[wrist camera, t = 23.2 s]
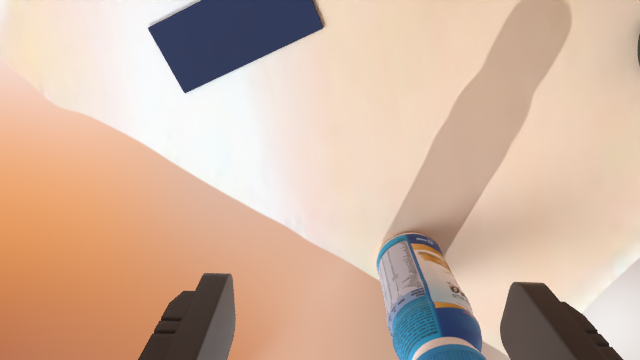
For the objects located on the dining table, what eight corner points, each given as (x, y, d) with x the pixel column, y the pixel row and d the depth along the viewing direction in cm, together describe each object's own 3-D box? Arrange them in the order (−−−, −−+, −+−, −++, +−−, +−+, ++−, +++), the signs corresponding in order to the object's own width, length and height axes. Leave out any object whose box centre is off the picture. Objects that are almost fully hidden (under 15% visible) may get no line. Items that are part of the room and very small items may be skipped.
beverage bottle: (371, 234, 47) (401, 371, 28) (440, 225, 46) (517, 359, 28) (378, 289, 50) (409, 445, 32) (443, 281, 50) (513, 436, 31)
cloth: (293, -46, 36) (293, -47, 35) (323, 27, 38) (323, 28, 38) (148, 28, 38) (147, 28, 38) (185, 92, 41) (184, 93, 40)
